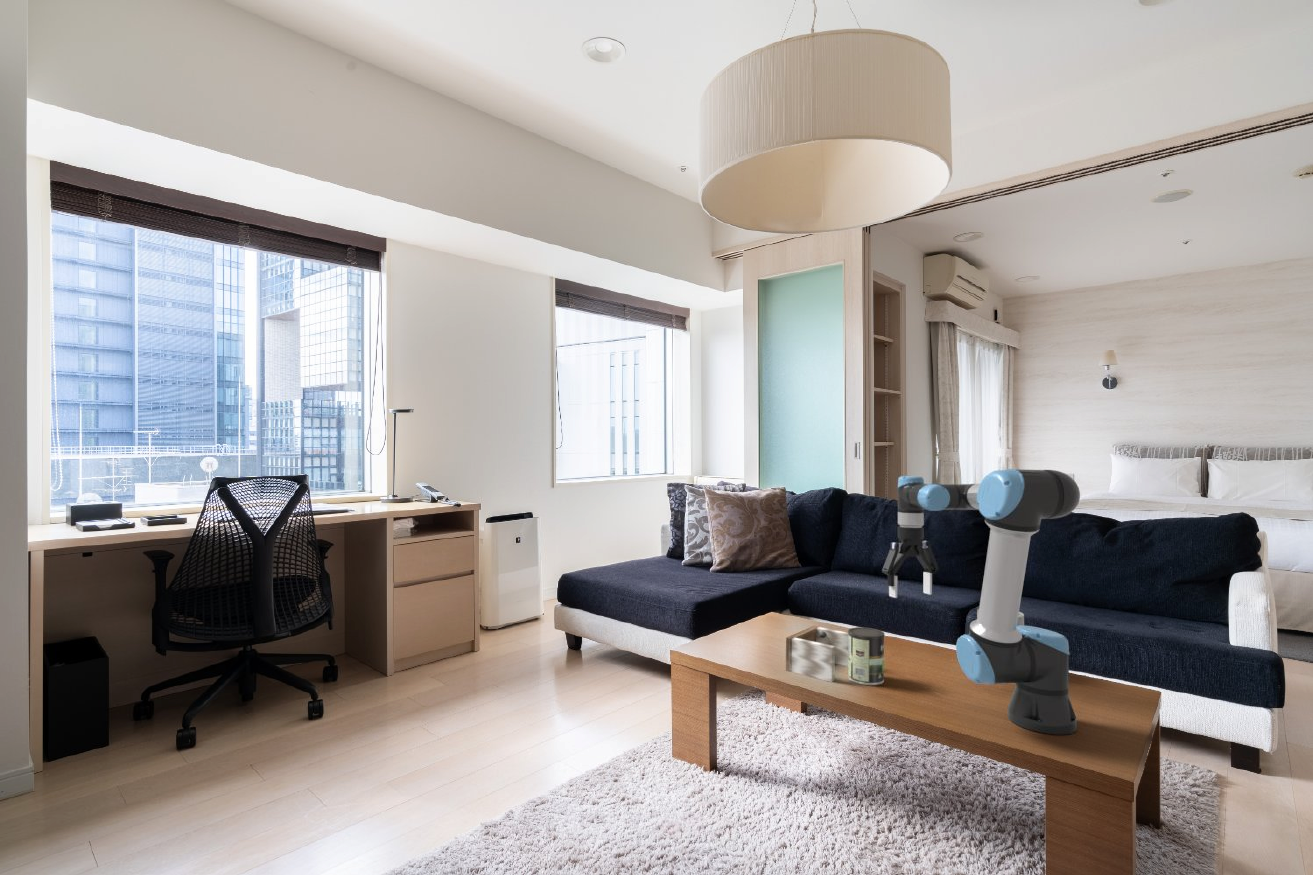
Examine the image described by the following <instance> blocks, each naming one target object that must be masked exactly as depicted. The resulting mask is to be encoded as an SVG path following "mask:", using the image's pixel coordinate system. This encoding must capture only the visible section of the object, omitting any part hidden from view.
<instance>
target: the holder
mask: <svg viewBox="0 0 1313 875" xmlns="http://www.w3.org/2000/svg"><path fill="white" fill-rule="evenodd" d="M848 651H849V634H848V631H847V632H846V631H841V630H836V629H831V628H828V627H827V628H826V627H820V626H816V625H813V626H810V627H808V628H806V629H802V630H801V631H798V632H796V633H794V634H792V635H789V636H786V638H785V671H786V672H791V673H794V674H798V675H802V676H806V677H811V678H814V679H818V680H822V681H826V682H831V683H832V682H834V681H835V677H836V676H835V675H836V673H835V671H836V670H835V668H836V666H835V665H839V666H843V667H846V668H848V655H849V652H848Z"/></svg>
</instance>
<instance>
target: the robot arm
mask: <svg viewBox="0 0 1313 875" xmlns="http://www.w3.org/2000/svg"><path fill="white" fill-rule="evenodd" d="M897 479H898V480H897V488H896V489H897V524H898V525H899V526H898V527H897V538H898V540H899V541H898V542H892V541H891V542H890V547H889V551H888V554H887V556H886V559H885V562H884V563H883V564H884V565H883V567H882V569H881V573H882V574H884V575H887V586H888V596H889V597H890V598H894V599H897V598H898V575H896V574H897V573H898V571H899V570H900V568H901V567H902V565H903V563H904V561H905V560H907V558H912V557H915V558H916V559H917V561H918V562H919V563H920V565H921V566H922V567H923V569H924V571H923V580H922V581H923V582H922V583H923V584H922V586H923V591H922V592H923V593H924V594H925V595H926V594H927V595H929V596H931V595H932V594H933V589H932V588H933V582H934V574H936V572H937V571H939V566H938V562H937V561H936V558H935V555H934V553H933V551H932V547H931V546H932V543H931V542H930V541H929V540H924V538H925V536H924V535H925V534H924V532H925V530H924V529H925V528H924V527H923V526H924V525H925V524H924V523H925V521H924V520H925V517H924V515H925V514H924V513H925V511H924V510H927V511H930V512H933V511H934V512H938V511H939V512H940V511H943V510H945V511H946V510H949V511H952V510H956V511H957V510H958V511H959V510H963V511H965V510H967V511H971V510H972V511H979V513H980V514H981V515H982V516H983V517H984V522H985V524H986V525H987V526H988V528H990V530H989V539H988V545H987V552H986V559H985V566H984V573H983V574H984V575H983V581H982V587H981V594H980V600H979V614H978V619H975V620H973V621H971V622H970V623H969V628H968V630H969V631H968V634H963V635H960V637H958V638H957V640H956V646H955V650H956V656H957V660H958V663H959V666H960V669H961V670H962V672H963V673H964V674H965V676H966V677H967V678H968V680H970V681H971V682H973V683H974V684H978V685H982V684H983V685H986V684H987V685H990V686H992V685H996V684H998V685H999V684H1015V686H1014V690H1013V693H1012V695H1011V698H1010V700H1009V703H1008V705H1007V719H1009V720H1010V721H1011V722H1012V723H1013V724H1015V725H1017V726H1019V727H1022V728H1023V729H1027V730H1029V731H1034V732H1038V733H1042V734H1049V735H1058V736H1059V735H1070V734H1073V733H1075V732H1076V731H1077V729H1078V726H1077V725H1078V719H1077V716H1076V713H1075V710H1074V707H1073V705H1072V701H1071V699H1070V693H1069V690H1070V689H1069V688H1070V686H1069V685H1070V684H1069V683H1070V682H1069V679H1070V678H1069V674H1070V670H1069V669H1070V655H1071V653H1070V651H1069V650H1070V646H1069V641H1068V639H1067V637H1066V636H1064V635H1063V634H1060V633H1059V632H1056V631H1053V630H1049V629H1045V628H1042V627H1037V626H1031V625H1025V624H1024V625H1020V626H1017V621H1018V614H1019V612H1020V607H1021V602H1022V601H1021V600H1022V594H1023V587H1024V581H1025V575H1026V568H1027V563H1028V562H1027V561H1028V555H1029V549H1030V544H1031V543H1030V542H1031V537H1032V536H1033V535H1034V534H1037V533H1038V532H1039V531H1040V528H1041V522H1042V520H1047V519H1050V520H1052V519H1059V518H1062V517H1065V516H1068V515H1070V514H1071V513H1072V512H1073V511H1074V510H1076V508H1077V507H1078V506H1079V502H1080V499H1081V492H1080V487H1079V486H1078V484H1077V482H1076V481H1075V480H1074V478H1073V477H1071V475H1068V474H1067V473H1065V472H1062V471H1059V470H1054V469H1017V468H1016V469H1013V468H1007V469H999V470H993V471H991V472H989V473H988V474H987V475H985V476H984V477H983V479H982V480H981V482H980V483H961V484H959V483H957V484H956V483H955V484H953V483H951V484H950V483H949V484H948V483H946V484H945V483H942V484H941V483H925V482H924V478H923V477H922V476H919V475H918V476H917V475H916V476H915V475H902V476H899V477H898V478H897Z"/></svg>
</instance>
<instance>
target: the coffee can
mask: <svg viewBox="0 0 1313 875" xmlns="http://www.w3.org/2000/svg"><path fill="white" fill-rule="evenodd" d="M847 633H848V634H849V651H848V652H849V655H848V667H847V669H848V673H847V674H848V676H847V678H848V679H849V681H851V682H852V683H854V684H855V683H856V684H857V685H863V686H878V685H879V686H880V685H883V684H884V682H885V675H884V674H885V664H884V663H885V641H884V640H885V632H884V631H882V630H880V629H877V628H872V627H860V626H858V627H852V628H849V629H848V630H847Z"/></svg>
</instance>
